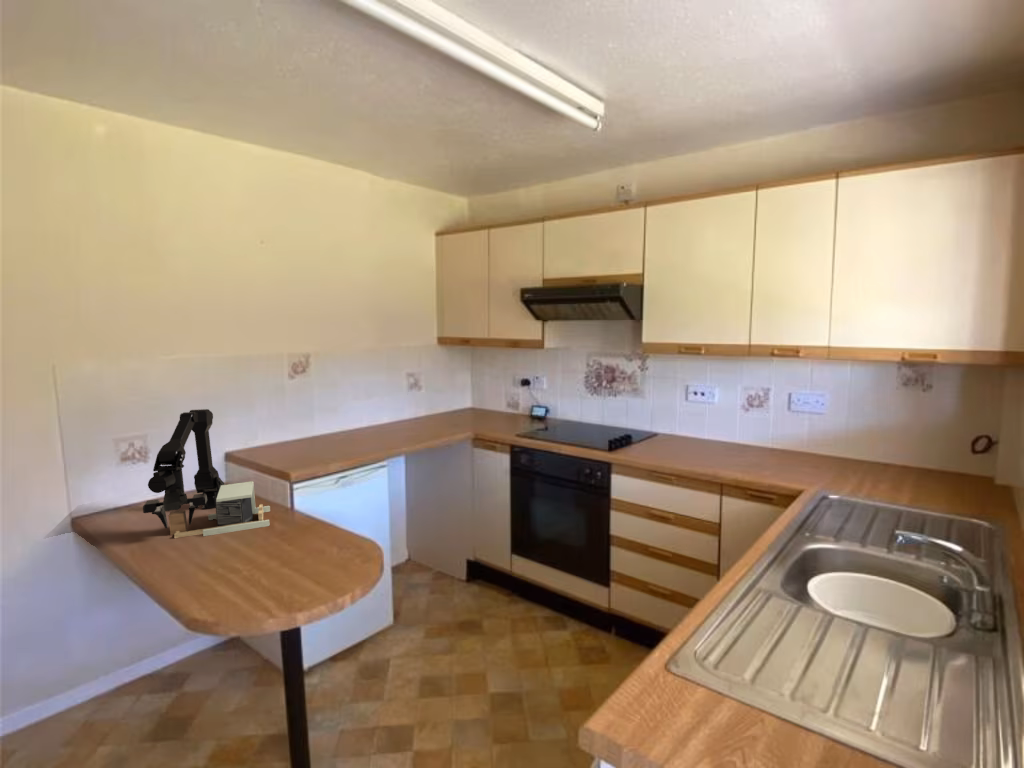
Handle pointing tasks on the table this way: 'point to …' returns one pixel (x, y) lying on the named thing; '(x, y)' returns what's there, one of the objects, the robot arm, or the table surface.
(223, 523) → the small box
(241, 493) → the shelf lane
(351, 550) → the table surface
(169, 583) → the table surface
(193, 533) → the wooden block with bar
